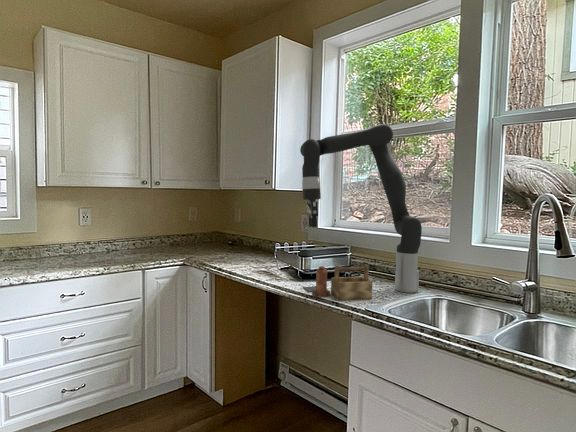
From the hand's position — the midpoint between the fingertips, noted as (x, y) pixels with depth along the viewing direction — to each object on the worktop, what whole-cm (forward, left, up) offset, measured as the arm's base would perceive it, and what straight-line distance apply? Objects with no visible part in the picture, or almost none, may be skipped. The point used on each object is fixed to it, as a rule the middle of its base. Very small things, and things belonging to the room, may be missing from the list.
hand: (312, 226), depth 167 cm
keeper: (-3, +4, -28) cm, 29 cm away
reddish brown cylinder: (-3, +4, -28) cm, 29 cm away
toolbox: (-15, +7, -28) cm, 33 cm away
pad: (-3, -6, -28) cm, 29 cm away
